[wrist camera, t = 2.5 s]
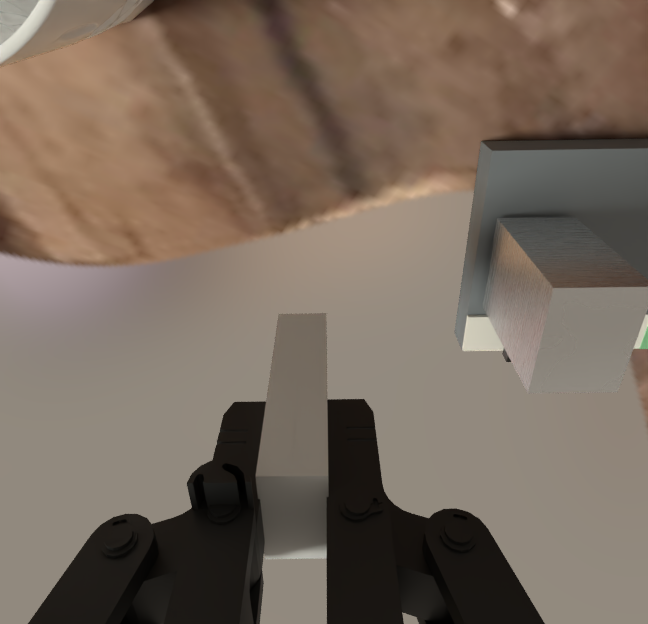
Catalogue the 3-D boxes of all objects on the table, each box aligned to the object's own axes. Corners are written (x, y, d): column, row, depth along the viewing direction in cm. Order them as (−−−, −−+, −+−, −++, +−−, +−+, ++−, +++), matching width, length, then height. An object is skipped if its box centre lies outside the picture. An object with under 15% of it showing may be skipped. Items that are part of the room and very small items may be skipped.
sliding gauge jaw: (474, 350, 23) (515, 442, 18) (497, 217, 20) (553, 288, 15) (541, 349, 23) (599, 441, 18) (574, 216, 20) (655, 286, 15)
